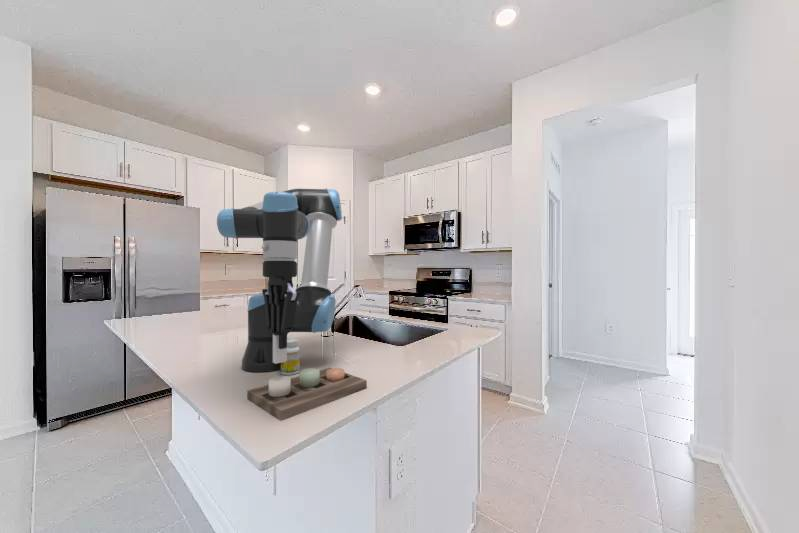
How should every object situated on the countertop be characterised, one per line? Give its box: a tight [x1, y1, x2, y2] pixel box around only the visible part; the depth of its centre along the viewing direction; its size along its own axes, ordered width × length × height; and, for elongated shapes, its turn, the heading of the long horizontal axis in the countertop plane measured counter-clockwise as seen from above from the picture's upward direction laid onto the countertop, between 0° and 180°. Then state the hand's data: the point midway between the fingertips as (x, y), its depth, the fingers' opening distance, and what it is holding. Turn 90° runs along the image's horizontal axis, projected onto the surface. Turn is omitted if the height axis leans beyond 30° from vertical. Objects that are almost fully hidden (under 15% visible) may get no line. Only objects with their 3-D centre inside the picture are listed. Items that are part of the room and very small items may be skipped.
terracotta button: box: [326, 367, 346, 383], centre depth 87 cm, size 5×5×3 cm
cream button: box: [268, 375, 291, 398], centre depth 75 cm, size 5×5×3 cm
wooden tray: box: [246, 367, 368, 421], centre depth 81 cm, size 16×24×2 cm, turn 138°
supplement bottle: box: [280, 338, 301, 376], centre depth 97 cm, size 5×5×10 cm
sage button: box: [299, 367, 321, 388], centre depth 81 cm, size 5×5×3 cm
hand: (279, 361), depth 75 cm, fingers closed
